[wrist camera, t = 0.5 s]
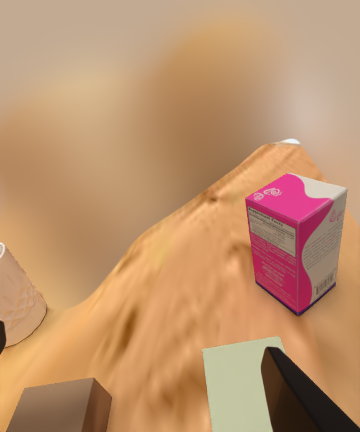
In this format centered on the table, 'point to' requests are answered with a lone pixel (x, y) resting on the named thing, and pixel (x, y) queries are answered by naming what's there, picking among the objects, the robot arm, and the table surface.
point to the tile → (238, 386)
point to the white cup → (18, 300)
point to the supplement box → (296, 238)
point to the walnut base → (63, 408)
